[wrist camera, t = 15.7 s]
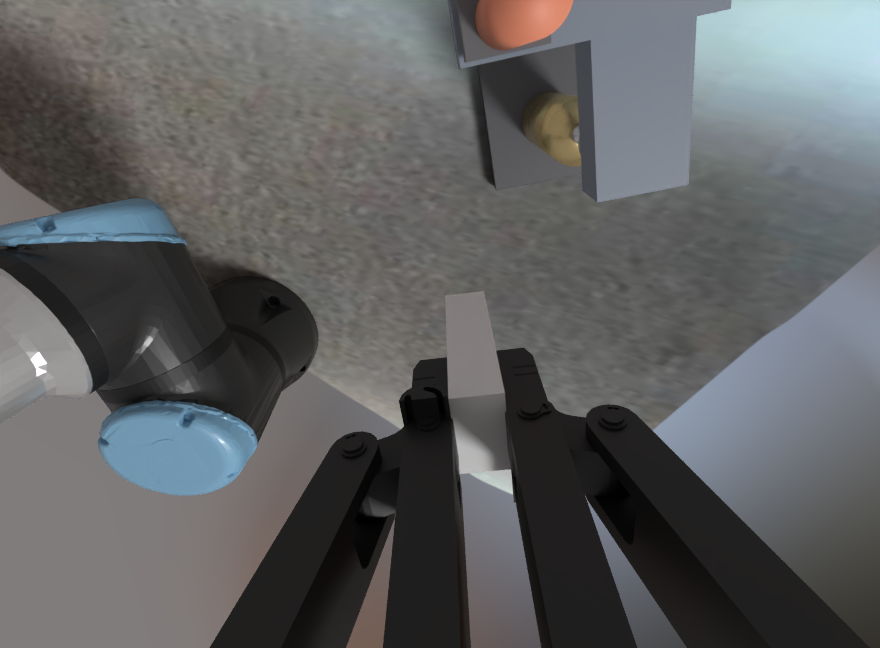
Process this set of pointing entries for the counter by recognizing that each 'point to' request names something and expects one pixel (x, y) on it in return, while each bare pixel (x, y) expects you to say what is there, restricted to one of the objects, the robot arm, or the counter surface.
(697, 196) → the counter surface
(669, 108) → the press
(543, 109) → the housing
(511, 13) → the lever
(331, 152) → the counter surface
